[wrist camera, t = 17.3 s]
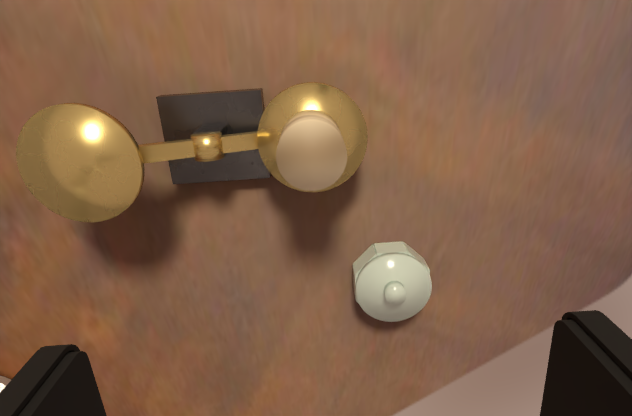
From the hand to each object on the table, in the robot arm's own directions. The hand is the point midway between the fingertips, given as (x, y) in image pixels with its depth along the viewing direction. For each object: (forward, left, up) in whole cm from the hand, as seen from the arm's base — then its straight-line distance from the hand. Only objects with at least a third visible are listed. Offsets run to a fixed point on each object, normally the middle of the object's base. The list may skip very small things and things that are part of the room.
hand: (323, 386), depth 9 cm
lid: (-14, -6, -28) cm, 32 cm away
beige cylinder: (0, 0, -24) cm, 24 cm away
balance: (0, +8, -28) cm, 29 cm away
